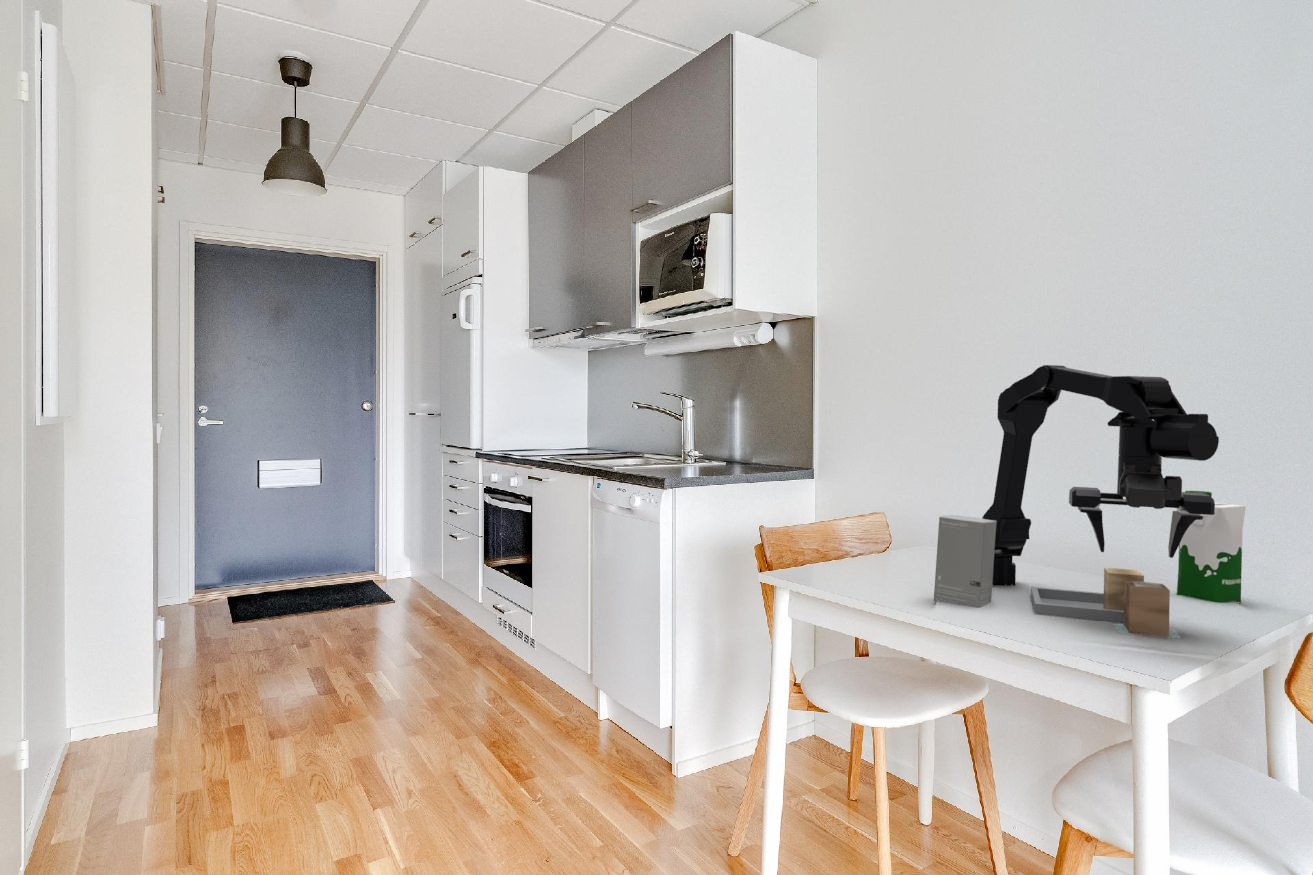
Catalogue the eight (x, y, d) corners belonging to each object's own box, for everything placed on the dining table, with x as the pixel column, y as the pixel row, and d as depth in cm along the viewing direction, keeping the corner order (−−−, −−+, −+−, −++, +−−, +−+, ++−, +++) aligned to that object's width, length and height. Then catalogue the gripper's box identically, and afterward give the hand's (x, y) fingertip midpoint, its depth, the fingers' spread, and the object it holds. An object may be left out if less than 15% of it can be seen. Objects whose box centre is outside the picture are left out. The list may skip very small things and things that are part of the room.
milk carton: (1197, 593, 142) (1199, 489, 142) (1250, 604, 134) (1253, 494, 133) (1168, 597, 139) (1170, 491, 138) (1221, 608, 130) (1223, 495, 130)
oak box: (1107, 614, 123) (1108, 572, 123) (1103, 607, 127) (1104, 567, 127) (1143, 618, 121) (1144, 575, 120) (1137, 611, 125) (1138, 570, 125)
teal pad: (1118, 636, 113) (1118, 631, 113) (1113, 628, 117) (1113, 623, 117) (1181, 643, 109) (1181, 638, 109) (1173, 634, 114) (1173, 629, 114)
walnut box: (1123, 624, 117) (1124, 579, 116) (1161, 628, 115) (1162, 582, 114) (1129, 632, 112) (1130, 585, 112) (1168, 637, 110) (1169, 589, 110)
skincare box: (933, 604, 132) (934, 516, 132) (948, 597, 138) (949, 512, 137) (981, 612, 127) (983, 520, 126) (995, 605, 132) (997, 517, 132)
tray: (1034, 618, 123) (1035, 603, 123) (1030, 600, 136) (1030, 586, 136) (1163, 631, 116) (1163, 615, 116) (1146, 610, 128) (1146, 596, 128)
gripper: (1076, 456, 113) (1073, 558, 113) (1227, 461, 105) (1222, 570, 106) (1070, 452, 123) (1067, 546, 123) (1207, 457, 115) (1202, 556, 116)
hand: (1135, 554), depth 117 cm, fingers open, 9 cm apart
